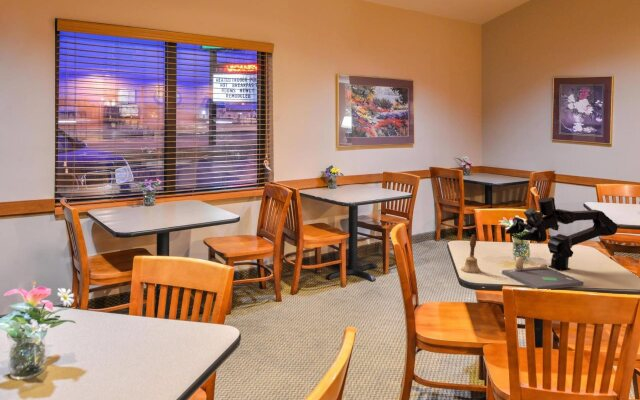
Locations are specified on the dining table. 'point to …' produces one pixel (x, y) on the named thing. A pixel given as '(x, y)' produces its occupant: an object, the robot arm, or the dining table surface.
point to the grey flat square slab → (542, 278)
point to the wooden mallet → (520, 266)
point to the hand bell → (471, 259)
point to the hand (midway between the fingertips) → (512, 235)
